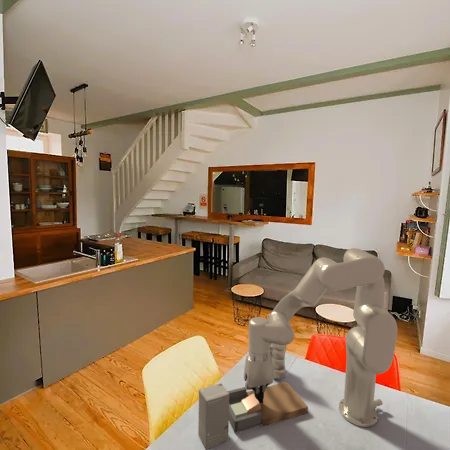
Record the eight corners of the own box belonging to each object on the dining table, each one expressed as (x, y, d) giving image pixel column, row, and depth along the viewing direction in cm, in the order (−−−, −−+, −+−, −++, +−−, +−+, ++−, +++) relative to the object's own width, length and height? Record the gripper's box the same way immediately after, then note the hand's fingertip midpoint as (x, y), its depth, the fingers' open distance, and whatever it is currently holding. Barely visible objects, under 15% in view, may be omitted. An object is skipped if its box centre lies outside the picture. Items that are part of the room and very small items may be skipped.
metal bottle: (281, 384, 116) (283, 338, 114) (266, 377, 120) (268, 333, 118) (288, 376, 121) (289, 332, 119) (273, 370, 125) (275, 327, 123)
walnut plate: (286, 387, 114) (286, 381, 114) (307, 413, 101) (308, 406, 101) (245, 398, 108) (246, 392, 108) (263, 426, 95) (263, 420, 95)
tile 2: (255, 398, 104) (253, 393, 103) (261, 408, 99) (259, 403, 99) (243, 405, 102) (241, 400, 102) (249, 416, 98) (247, 410, 97)
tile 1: (241, 408, 102) (241, 401, 102) (247, 418, 98) (247, 412, 97) (229, 411, 101) (229, 405, 100) (234, 422, 96) (234, 415, 96)
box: (244, 396, 109) (245, 386, 109) (261, 424, 96) (262, 413, 96) (220, 402, 106) (220, 392, 105) (234, 432, 93) (234, 421, 92)
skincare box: (205, 450, 86) (206, 403, 84) (197, 433, 92) (197, 388, 90) (230, 440, 90) (230, 394, 88) (220, 423, 96) (220, 380, 94)
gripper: (272, 343, 106) (272, 388, 108) (235, 351, 101) (236, 398, 103) (283, 354, 99) (282, 402, 101) (244, 363, 94) (244, 414, 96)
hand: (259, 400), depth 102 cm, fingers closed
